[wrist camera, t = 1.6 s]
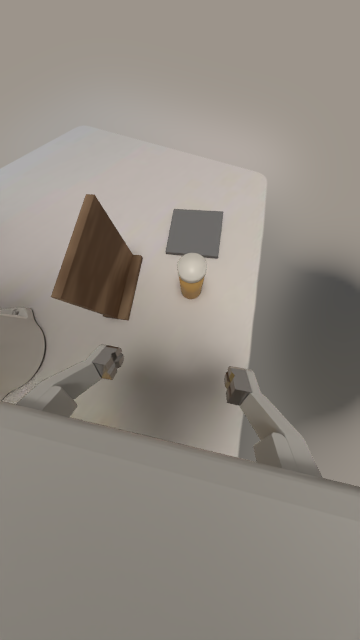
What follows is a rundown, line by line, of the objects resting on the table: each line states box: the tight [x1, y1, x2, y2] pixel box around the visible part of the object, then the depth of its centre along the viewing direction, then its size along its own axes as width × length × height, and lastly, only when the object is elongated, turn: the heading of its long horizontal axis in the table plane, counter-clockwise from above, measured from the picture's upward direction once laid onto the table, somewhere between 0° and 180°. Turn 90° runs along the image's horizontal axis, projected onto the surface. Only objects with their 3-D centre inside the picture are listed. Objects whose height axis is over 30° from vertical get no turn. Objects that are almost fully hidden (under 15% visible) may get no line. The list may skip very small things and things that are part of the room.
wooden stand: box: [51, 194, 142, 320], centre depth 21 cm, size 5×14×12 cm, turn 171°
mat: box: [166, 209, 223, 258], centre depth 28 cm, size 11×11×1 cm
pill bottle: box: [177, 253, 207, 299], centre depth 22 cm, size 4×4×8 cm
